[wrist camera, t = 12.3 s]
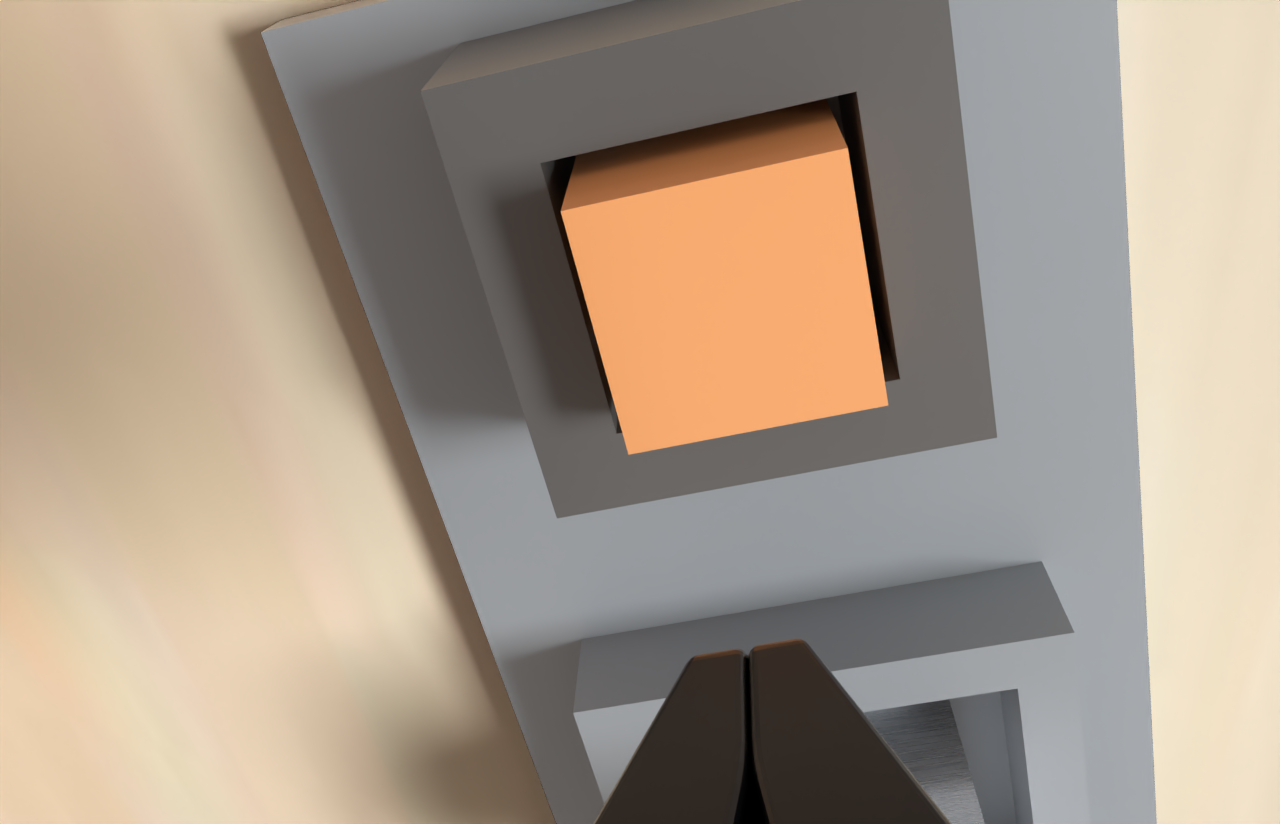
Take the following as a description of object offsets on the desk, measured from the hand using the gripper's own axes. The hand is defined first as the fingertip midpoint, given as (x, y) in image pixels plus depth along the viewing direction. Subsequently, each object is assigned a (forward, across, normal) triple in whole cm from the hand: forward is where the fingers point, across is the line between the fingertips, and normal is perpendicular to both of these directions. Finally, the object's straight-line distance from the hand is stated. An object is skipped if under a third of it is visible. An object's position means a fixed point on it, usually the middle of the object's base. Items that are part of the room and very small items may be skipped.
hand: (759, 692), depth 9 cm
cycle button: (+10, 0, 0) cm, 10 cm away
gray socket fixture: (+12, 0, +8) cm, 14 cm away
